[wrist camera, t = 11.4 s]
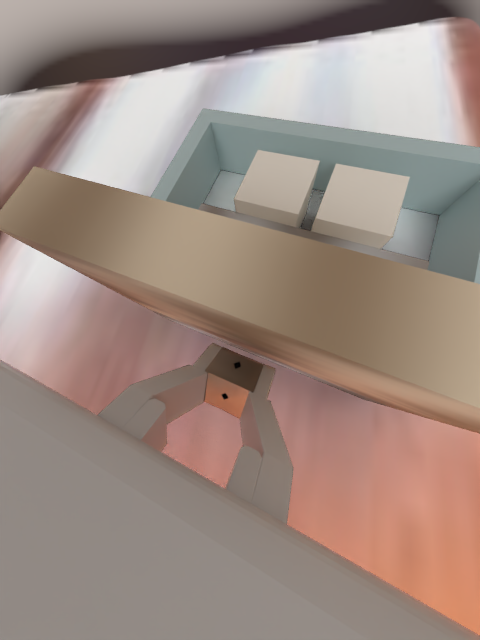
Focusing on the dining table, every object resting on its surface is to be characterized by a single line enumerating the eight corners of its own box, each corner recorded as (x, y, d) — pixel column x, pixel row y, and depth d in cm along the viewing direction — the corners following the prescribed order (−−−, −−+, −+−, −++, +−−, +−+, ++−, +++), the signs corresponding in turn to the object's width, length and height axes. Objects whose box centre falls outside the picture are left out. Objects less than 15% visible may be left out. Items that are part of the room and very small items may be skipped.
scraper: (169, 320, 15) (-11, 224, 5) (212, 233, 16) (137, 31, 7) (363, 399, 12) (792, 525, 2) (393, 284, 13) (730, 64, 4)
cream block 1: (241, 240, 16) (233, 198, 12) (259, 201, 16) (257, 149, 12) (289, 254, 15) (298, 214, 11) (306, 212, 16) (320, 160, 12)
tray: (154, 267, 16) (124, 240, 12) (214, 157, 18) (203, 108, 15) (428, 363, 12) (494, 360, 8) (461, 205, 14) (524, 153, 11)
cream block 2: (301, 258, 15) (315, 218, 11) (317, 215, 15) (336, 163, 11) (356, 274, 14) (392, 236, 10) (371, 228, 15) (409, 176, 11)
